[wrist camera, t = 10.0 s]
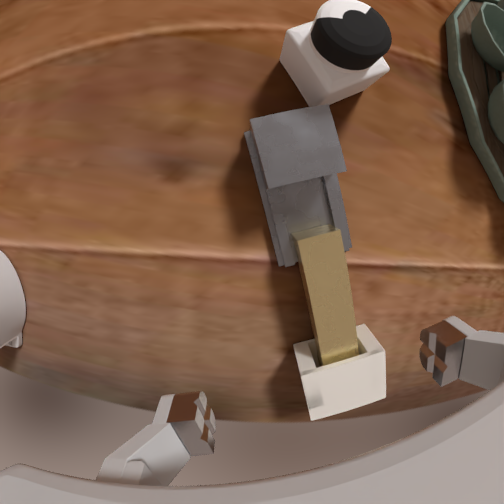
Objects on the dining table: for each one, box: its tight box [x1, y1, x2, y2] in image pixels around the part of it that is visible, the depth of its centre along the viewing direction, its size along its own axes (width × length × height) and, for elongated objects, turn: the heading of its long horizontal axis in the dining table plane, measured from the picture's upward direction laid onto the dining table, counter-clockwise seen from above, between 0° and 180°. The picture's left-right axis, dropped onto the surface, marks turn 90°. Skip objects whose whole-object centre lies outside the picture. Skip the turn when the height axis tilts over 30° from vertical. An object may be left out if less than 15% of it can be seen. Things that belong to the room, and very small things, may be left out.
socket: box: [293, 324, 386, 421], centre depth 31 cm, size 9×7×6 cm
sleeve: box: [244, 104, 352, 267], centre depth 27 cm, size 8×14×6 cm, turn 15°
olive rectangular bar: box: [291, 224, 359, 367], centre depth 29 cm, size 4×16×4 cm, turn 14°
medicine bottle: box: [280, 0, 392, 107], centre depth 21 cm, size 7×7×12 cm
